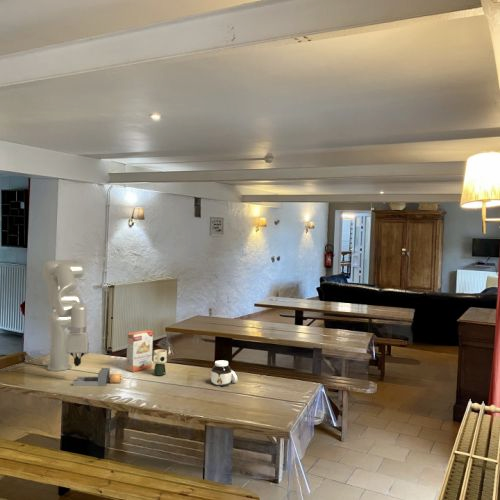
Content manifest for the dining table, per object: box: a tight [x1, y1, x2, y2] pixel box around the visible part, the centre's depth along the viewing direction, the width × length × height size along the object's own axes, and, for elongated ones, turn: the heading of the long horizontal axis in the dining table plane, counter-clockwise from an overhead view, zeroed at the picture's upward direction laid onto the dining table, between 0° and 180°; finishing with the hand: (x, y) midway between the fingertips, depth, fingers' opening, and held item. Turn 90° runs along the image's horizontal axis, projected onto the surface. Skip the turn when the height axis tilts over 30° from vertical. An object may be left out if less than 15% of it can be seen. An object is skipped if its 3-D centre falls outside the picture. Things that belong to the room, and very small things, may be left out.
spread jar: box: [210, 359, 239, 387], centre depth 249 cm, size 12×11×12 cm
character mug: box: [152, 349, 168, 376], centre depth 262 cm, size 11×7×13 cm, turn 152°
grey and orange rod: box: [84, 373, 124, 384], centre depth 246 cm, size 19×4×4 cm, turn 96°
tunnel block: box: [72, 367, 111, 387], centre depth 246 cm, size 16×10×6 cm, turn 96°
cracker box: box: [125, 329, 154, 373], centre depth 272 cm, size 14×6×21 cm, turn 143°
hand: (77, 365), depth 246 cm, fingers closed
